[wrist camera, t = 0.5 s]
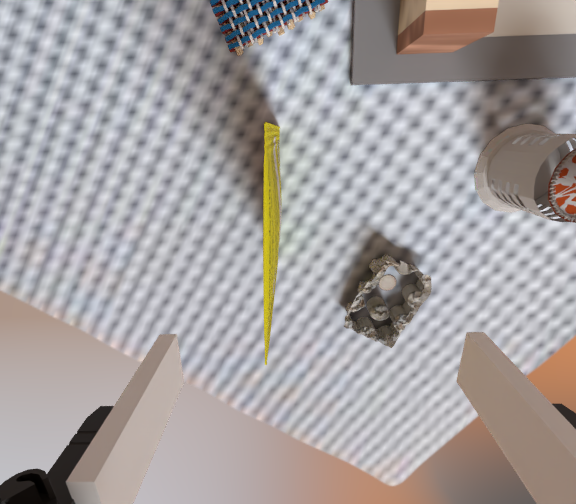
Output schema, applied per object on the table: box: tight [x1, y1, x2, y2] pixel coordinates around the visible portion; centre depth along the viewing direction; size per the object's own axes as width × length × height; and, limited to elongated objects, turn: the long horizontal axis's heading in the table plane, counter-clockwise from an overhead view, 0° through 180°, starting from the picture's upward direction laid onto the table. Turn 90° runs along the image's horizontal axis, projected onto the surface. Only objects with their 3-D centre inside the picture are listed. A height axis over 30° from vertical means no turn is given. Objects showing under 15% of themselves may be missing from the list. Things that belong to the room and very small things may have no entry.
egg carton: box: [344, 254, 431, 348], centre depth 41 cm, size 11×8×4 cm
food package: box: [263, 122, 281, 365], centre depth 29 cm, size 15×1×20 cm, turn 179°
